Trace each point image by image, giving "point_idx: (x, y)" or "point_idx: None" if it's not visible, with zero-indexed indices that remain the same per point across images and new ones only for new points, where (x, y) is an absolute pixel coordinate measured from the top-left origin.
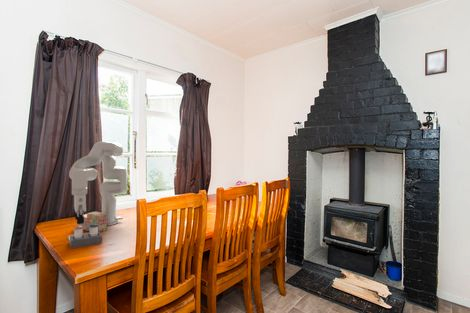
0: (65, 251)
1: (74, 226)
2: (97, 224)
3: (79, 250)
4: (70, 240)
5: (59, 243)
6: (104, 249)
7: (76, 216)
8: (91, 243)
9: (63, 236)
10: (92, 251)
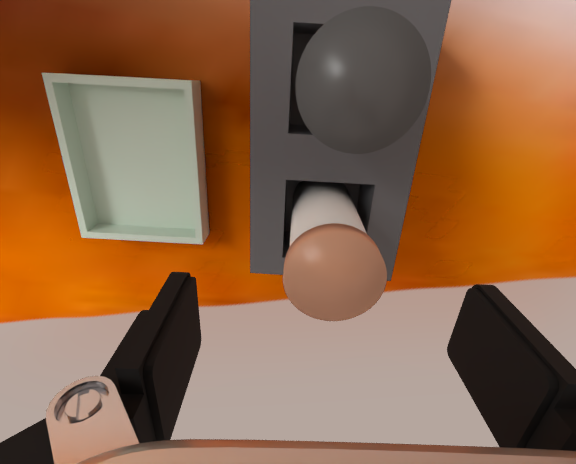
0: None
1: (307, 313)
2: (399, 27)
3: None
4: None
5: None
6: (530, 23)
7: (185, 372)
8: None
9: (21, 243)
10: (494, 123)
